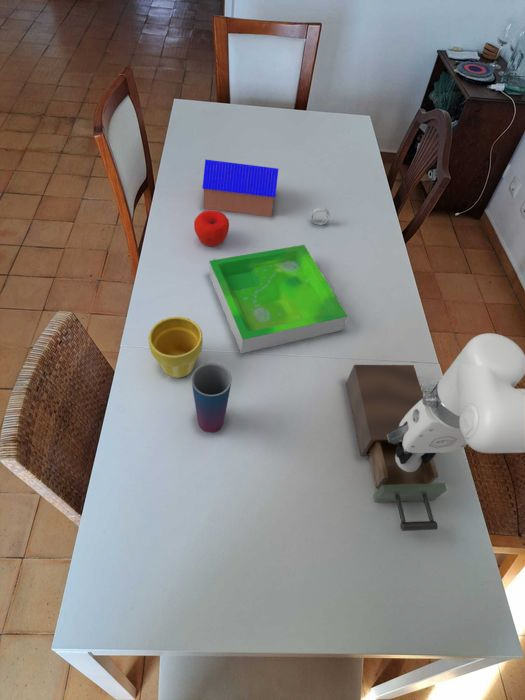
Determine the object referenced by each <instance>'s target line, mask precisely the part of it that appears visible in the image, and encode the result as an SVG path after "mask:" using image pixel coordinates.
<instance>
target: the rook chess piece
mask: <svg viewBox="0 0 525 700" xmlns="http://www.w3.org/2000/svg"><path fill="white" fill-rule="evenodd" d="M424 454H425V453H412V456H411V457H410V458H409V459H408V461H407V462H406V463H405V464H401V463H400V460H399V457H397V455H396V456H395V459H396V463H397V464H398V466H399V467H400V468H401V469H402V470H405V471H407V472H413V471H416V470H417V469H418V468H419V466H420V464H421V456H422V455H424Z"/></svg>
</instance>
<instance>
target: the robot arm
mask: <svg viewBox="0 0 525 700" xmlns="http://www.w3.org/2000/svg"><path fill="white" fill-rule="evenodd" d="M524 376H525V353H524V351H523V350H522V348H521V347H520V346H519V345H518V344H517V343H516V342H515V341H513V340H512V339H511V338H508V337H506V336H505V335H501V334H498V333H492V332H486V333H481V334H478V335H476V336H474V337H472V338H471V339H470V340H469V341H468V342H467V343H466V344H465V346H464V347H463V349H462V350H461V351H460V352H459V354H458V355H457V357H456V358H455V359H454V360H453V362H452V363H451V364H450V366H449V367H448V368H447V369H446V371H445V372H444V374H443V375H442V376H441V378H440V379H439V381H438V382H437V383H436V384H435V386H434V387H433V389H432V390H431V391H430V392H429V394H428V395H425V396H424V395H423V396H424V397H423V399H421V400H420V401H419V402H418V403H417V404H416V405H415V406H414V407H413V408H412V409H411V410H410V411H409V412H408V413H407V414H406V415H405V416H404V418H403V419H402V421H401V422H400V424H399V426H398V428H399V429H397V430H395V431H393V432H391V433H389V434H387V438H388V442H389V443H392V444H397V448H396V455H397V457H399V460H400V463H401V464H405V463H406V462H407V461H408V459H409V458H410V457H411V456H412V453H425V454H424V455H422V456H421V458H422V461H423V463H424V464H427V463H429V462H430V460H431V459H432V458H433V459H434V458H435V457H436V455H437V454H441V453H442V454H445V453H457V452H460V451H462V450H464V448H465V447H466V446H468V447H469V448H471V449H472V450H474V451H475V452H477V453H478V452H479V453H482V454H519V453H521V454H522V453H523V454H525V388H515V386H516V385H517V384H518V383H519V382H520V381H522V379H523V377H524Z"/></svg>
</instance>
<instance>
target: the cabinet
mask: <svg viewBox="0 0 525 700" xmlns="http://www.w3.org/2000/svg"><path fill="white" fill-rule="evenodd" d="M345 386H346V391H347V396H348V402H349V406H350V410H351V411H350V412H351V417H352V421H353V425H354V431H355V436H356V439H357V440H356V441H357V445H358V446H357V447H358V451H359V455H360V457H365V456H366V457H370V456H369V452H368V450H369V448H370V447H371V445H372V444H373V442H375V441H388V438H387V434H389V433H391V432H393V431H395V430H397V429H399V428H398V426H399V424H400V422H401V421H402V419H403V418H404V416H405V415H406V414H407V413H408V412H409V411H410V410H411V409H412V408H413V407H414V406H415V405H416V404H417V403H418V402H419V401H420V400H421V399H423V397H424V393H423V391H422V387H421V384H420V381H419V378H418V375H417V371H416V368H415V365H414V364H354V365H353V366H352V369H351V371H350V374H349V375H348V378H347V379H346V383H345Z"/></svg>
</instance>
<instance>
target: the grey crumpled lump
mask: <svg viewBox="0 0 525 700" xmlns="http://www.w3.org/2000/svg"><path fill="white" fill-rule="evenodd" d="M318 212H325V213H326V218H325V219H324V220H321V221H317V220H315V219H314V214H315V213H318ZM310 219H311V223H313V224H314V225H316V226H323V225H326V224H327V223H329V221H330V212H329V210H328V208H326V207H318V208H315V209H312V211H311V214H310Z"/></svg>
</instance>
